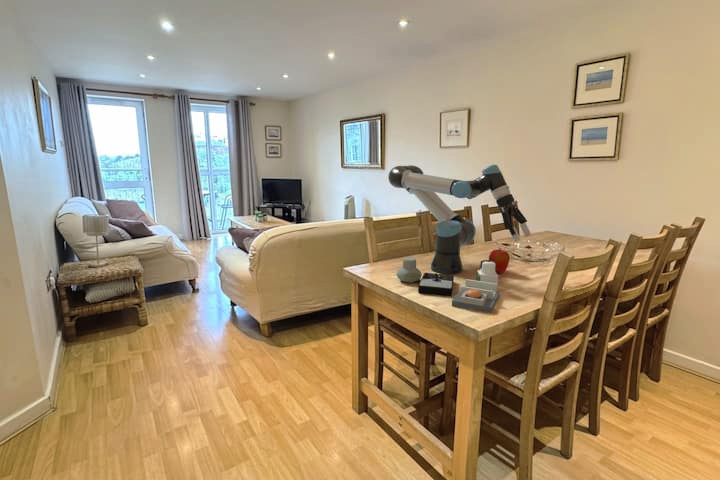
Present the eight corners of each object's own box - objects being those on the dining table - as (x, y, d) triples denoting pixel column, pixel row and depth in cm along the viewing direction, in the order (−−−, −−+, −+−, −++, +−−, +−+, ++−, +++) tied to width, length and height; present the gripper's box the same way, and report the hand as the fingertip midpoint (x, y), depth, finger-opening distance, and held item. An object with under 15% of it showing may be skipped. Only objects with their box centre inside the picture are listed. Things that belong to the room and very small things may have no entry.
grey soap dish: (451, 305, 137) (452, 292, 136) (463, 290, 154) (464, 278, 153) (491, 312, 131) (492, 299, 130) (499, 296, 148) (500, 284, 147)
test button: (465, 297, 136) (465, 292, 136) (468, 293, 140) (468, 288, 140) (479, 299, 134) (480, 294, 133) (482, 295, 138) (482, 290, 138)
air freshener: (399, 284, 161) (400, 261, 159) (394, 278, 169) (395, 257, 167) (423, 283, 163) (424, 260, 161) (417, 277, 171) (418, 256, 169)
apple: (486, 273, 177) (488, 249, 174) (489, 269, 185) (490, 245, 182) (507, 276, 173) (510, 251, 171) (509, 271, 181) (511, 247, 179)
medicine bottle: (475, 285, 160) (477, 258, 157) (493, 286, 159) (495, 259, 156) (478, 291, 153) (480, 263, 150) (496, 292, 152) (499, 263, 150)
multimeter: (453, 282, 165) (454, 272, 164) (451, 297, 147) (452, 285, 146) (423, 280, 168) (424, 269, 167) (417, 294, 150) (418, 282, 149)
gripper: (499, 195, 162) (521, 240, 159) (520, 191, 180) (540, 231, 177) (484, 202, 167) (505, 246, 164) (506, 198, 185) (525, 237, 182)
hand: (523, 238), depth 170 cm, fingers open, 13 cm apart
